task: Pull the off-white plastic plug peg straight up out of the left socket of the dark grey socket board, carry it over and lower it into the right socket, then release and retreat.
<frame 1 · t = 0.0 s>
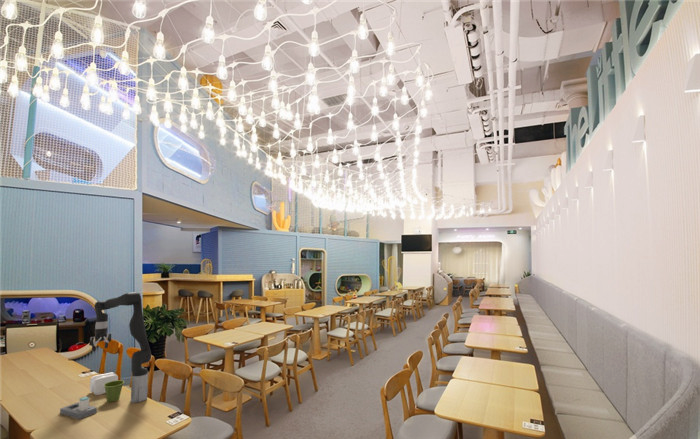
hand: (99, 349, 257), 29 cm above the table, fingers open, 8 cm apart
socket board: (78, 412, 218), on the table
plant pot: (113, 400, 237), on the table
cable organizer: (103, 392, 252), on the table
plug peg: (83, 414, 216), resting in socket board
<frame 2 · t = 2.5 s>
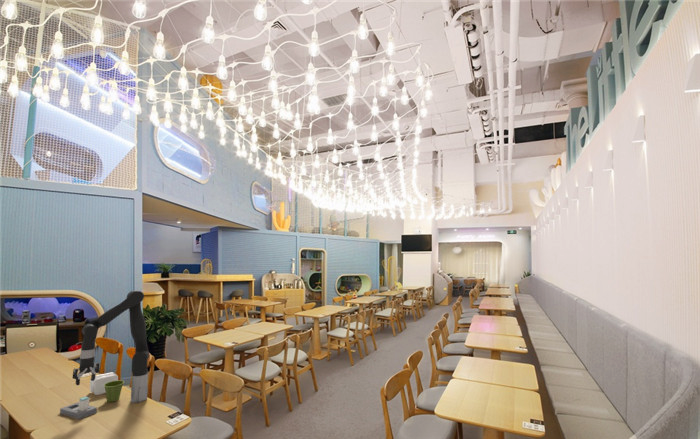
hand: (85, 382, 218), 19 cm above the table, fingers open, 8 cm apart
nothing on the table moved.
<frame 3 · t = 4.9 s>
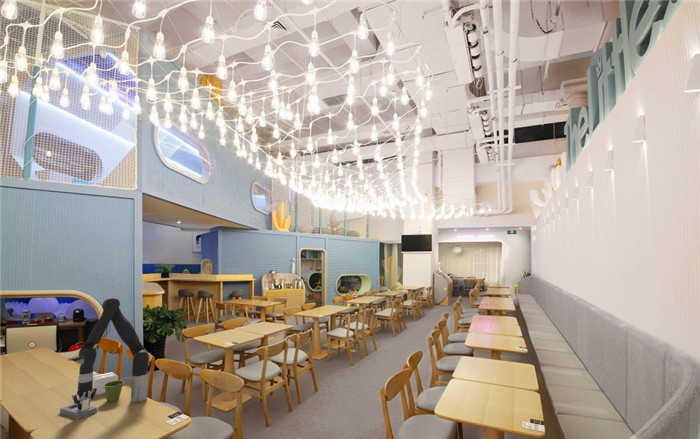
hand: (83, 408, 216), 4 cm above the table, fingers closed on plug peg, 3 cm apart
plug peg: (83, 414, 216), resting in socket board, touching gripper
everything else where it was.
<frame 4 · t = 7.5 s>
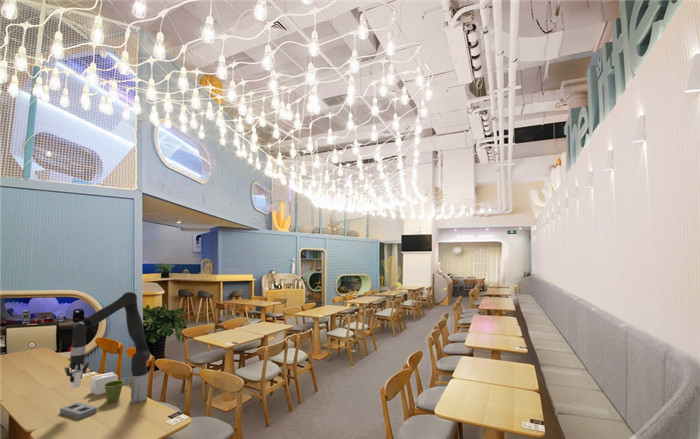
hand: (75, 380, 222), 19 cm above the table, fingers closed on plug peg, 3 cm apart
plug peg: (75, 386, 221), point 15 cm above the table, touching gripper
everything else where it was.
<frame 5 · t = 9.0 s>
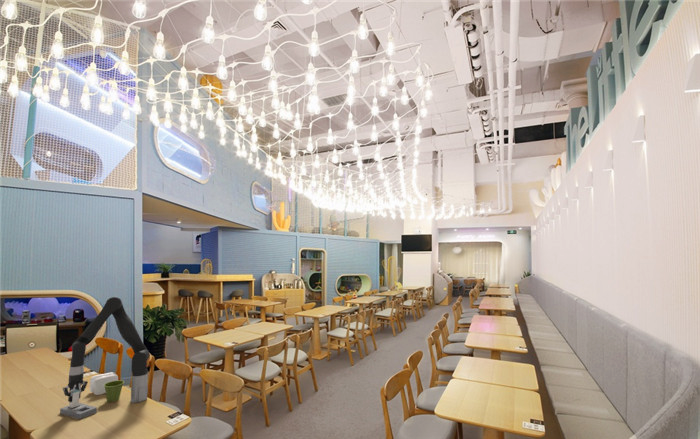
hand: (74, 400, 221), 7 cm above the table, fingers closed on plug peg, 3 cm apart
plug peg: (73, 406, 220), point 3 cm above the table, touching gripper
everything else where it was.
when the fingers open (5 cm above the table, at t = 10.0 s): plug peg drops 1 cm, resting in socket board.
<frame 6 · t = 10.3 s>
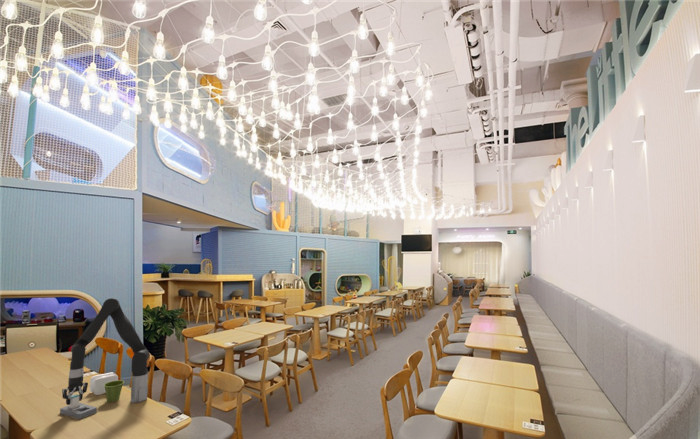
hand: (74, 402, 220), 6 cm above the table, fingers open, 6 cm apart
plug peg: (73, 411, 220), resting in socket board
everything else where it was.
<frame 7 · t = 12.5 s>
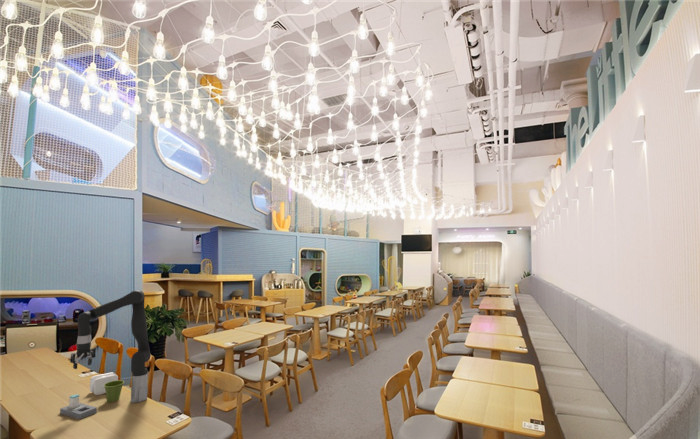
hand: (82, 366, 229), 25 cm above the table, fingers open, 8 cm apart
nothing on the table moved.
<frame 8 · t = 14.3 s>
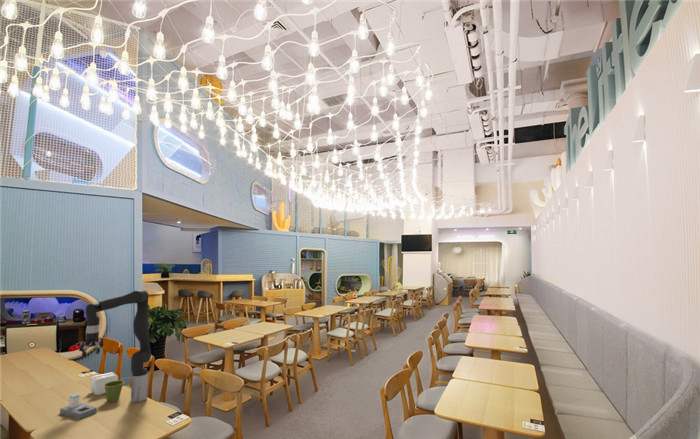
hand: (90, 355, 240), 30 cm above the table, fingers open, 8 cm apart
nothing on the table moved.
at the end: plug peg 0.1 cm from the target spot on the socket board, point 0.0 cm above the socket board's base; plug peg tilted 0°; the gripper is holding nothing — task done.
